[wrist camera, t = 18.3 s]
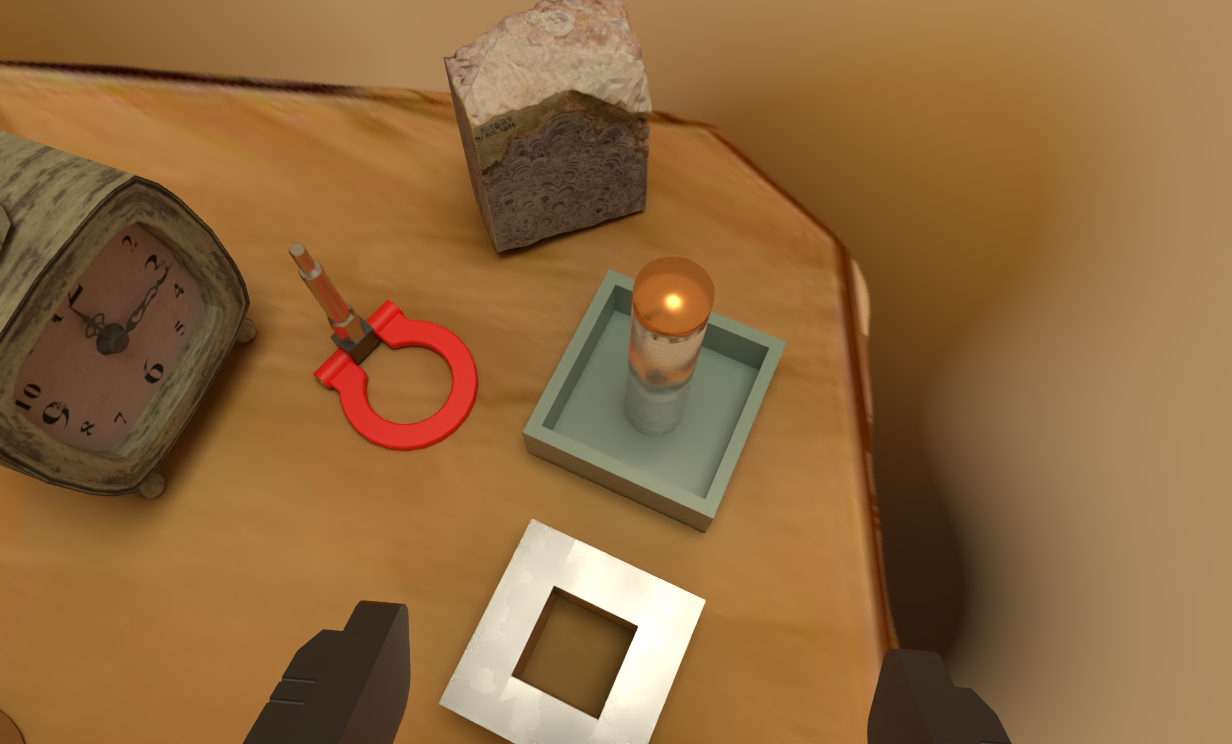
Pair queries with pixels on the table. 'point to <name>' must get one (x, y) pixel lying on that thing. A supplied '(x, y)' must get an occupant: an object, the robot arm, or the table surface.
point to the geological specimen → (553, 119)
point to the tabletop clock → (104, 320)
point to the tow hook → (395, 332)
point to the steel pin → (665, 341)
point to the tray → (640, 463)
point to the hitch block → (501, 646)
